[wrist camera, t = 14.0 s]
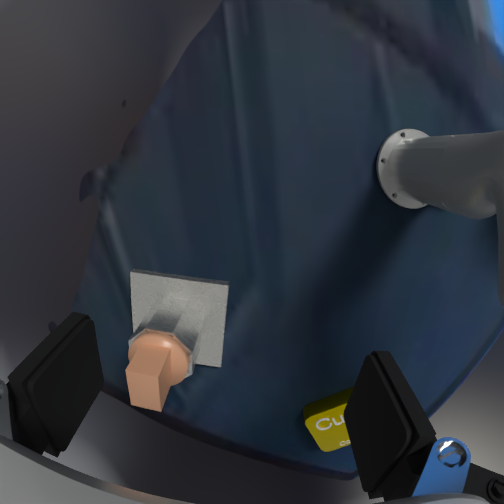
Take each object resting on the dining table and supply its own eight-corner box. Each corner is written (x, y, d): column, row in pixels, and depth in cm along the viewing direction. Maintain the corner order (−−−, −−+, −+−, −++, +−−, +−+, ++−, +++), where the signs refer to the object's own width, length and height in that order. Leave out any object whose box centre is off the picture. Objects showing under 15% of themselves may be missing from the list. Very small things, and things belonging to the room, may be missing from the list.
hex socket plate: (229, 281, 47) (220, 317, 36) (221, 362, 52) (214, 406, 41) (133, 268, 47) (102, 297, 36) (138, 347, 52) (115, 386, 41)
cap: (194, 325, 40) (176, 373, 30) (192, 371, 43) (178, 420, 33) (137, 315, 40) (107, 358, 30) (140, 361, 43) (117, 406, 33)
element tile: (321, 440, 60) (323, 455, 55) (299, 405, 56) (302, 421, 51) (380, 417, 57) (386, 432, 53) (368, 378, 54) (375, 393, 49)
